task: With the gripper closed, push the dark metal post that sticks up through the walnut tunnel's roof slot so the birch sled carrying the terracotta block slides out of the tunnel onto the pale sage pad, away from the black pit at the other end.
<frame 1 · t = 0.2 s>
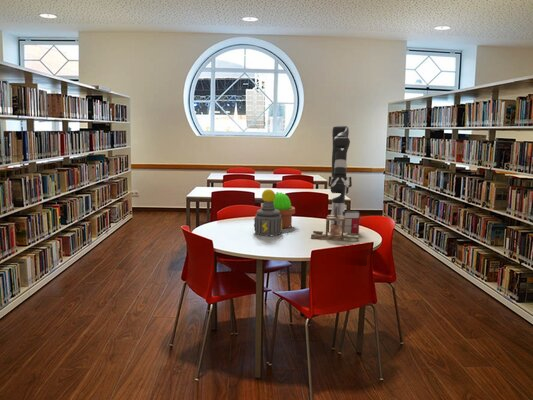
hand: (339, 193, 296), 31 cm above the table, tool tilted 20°, fingers open, 8 cm apart
potted cactus: (279, 226, 350), on the table
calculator: (350, 233, 329), on the table
tunnel: (335, 237, 314), on the table
sled: (335, 220, 312), point 11 cm above the table, slide at 0.0 cm
decorative lamp: (268, 233, 325), on the table
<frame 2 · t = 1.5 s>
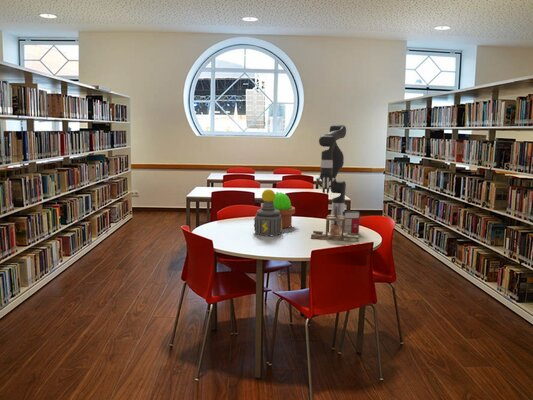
hand: (325, 193, 311), 29 cm above the table, tool pointing down, fingers closed
nothing on the table moved.
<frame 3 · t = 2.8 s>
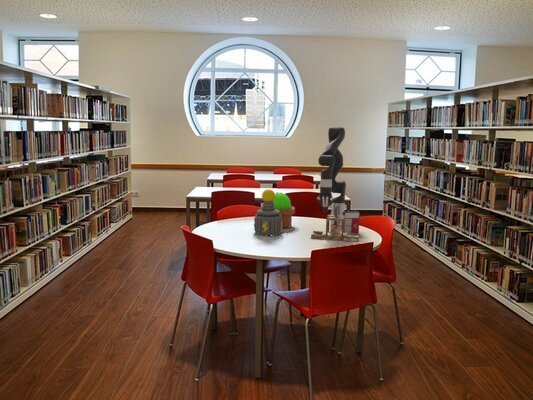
hand: (325, 212, 313), 17 cm above the table, tool pointing down, fingers closed
nothing on the table moved.
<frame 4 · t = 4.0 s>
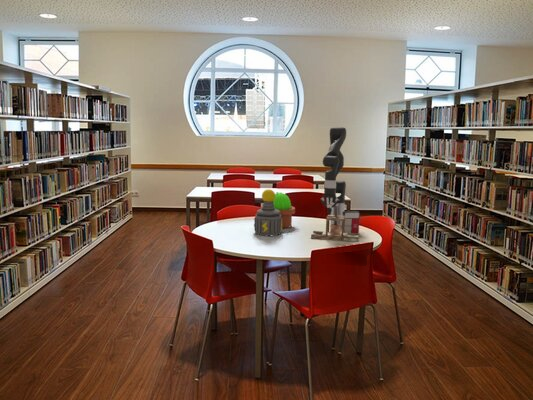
hand: (329, 213, 312), 16 cm above the table, tool pointing down, fingers closed
nothing on the table moved.
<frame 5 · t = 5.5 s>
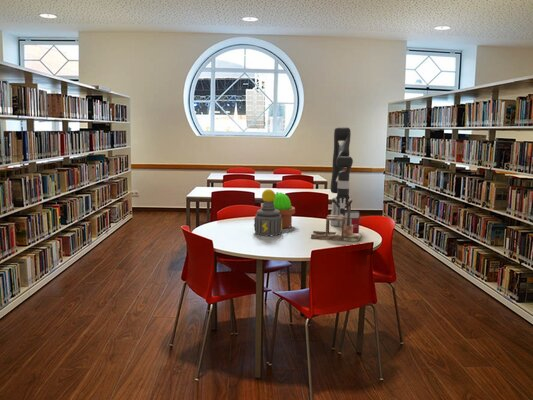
hand: (342, 214, 310), 16 cm above the table, tool pointing down, fingers closed
sled: (348, 221, 310), point 11 cm above the table, slide at 8.3 cm, touching hand
everything else where it was.
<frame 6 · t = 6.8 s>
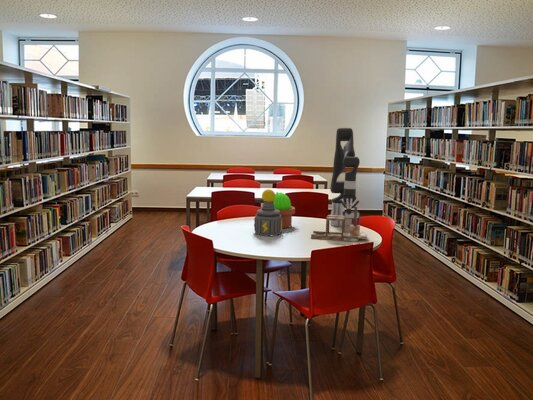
hand: (348, 214, 310), 16 cm above the table, tool pointing down, fingers closed
sled: (355, 221, 309), point 11 cm above the table, slide at 12.6 cm, touching hand
everything else where it was.
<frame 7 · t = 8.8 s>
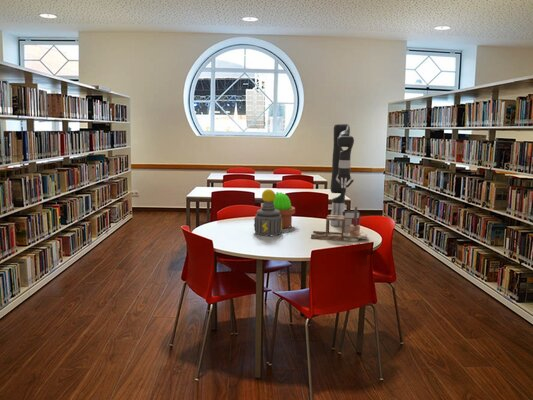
hand: (343, 193, 312), 29 cm above the table, tool pointing down, fingers closed
sled: (355, 221, 309), point 11 cm above the table, slide at 12.6 cm
everything else where it was.
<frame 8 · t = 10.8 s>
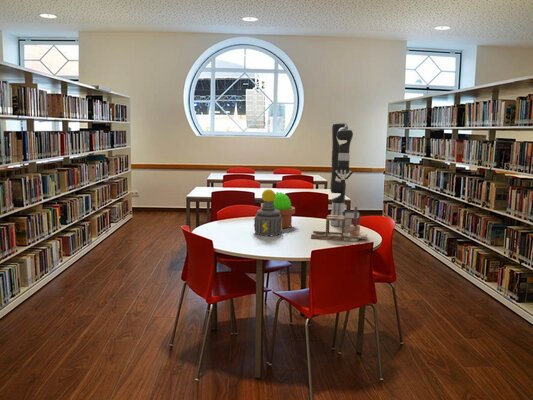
hand: (342, 185, 323), 33 cm above the table, tool pointing down, fingers closed
nothing on the table moved.
at the end: sled slide at 12.6 cm; the gripper is holding nothing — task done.
